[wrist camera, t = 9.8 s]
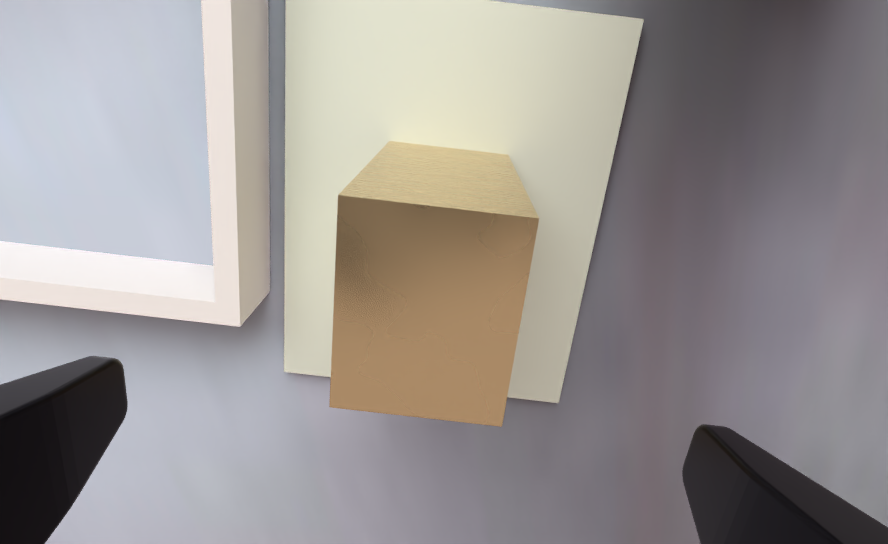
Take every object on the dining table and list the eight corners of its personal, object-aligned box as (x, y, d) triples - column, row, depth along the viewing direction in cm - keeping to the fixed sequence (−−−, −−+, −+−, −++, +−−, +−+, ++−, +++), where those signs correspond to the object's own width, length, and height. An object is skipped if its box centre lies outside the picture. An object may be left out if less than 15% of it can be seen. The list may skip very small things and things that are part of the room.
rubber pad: (639, 20, 17) (643, 18, 17) (556, 395, 22) (558, 403, 22) (290, -22, 17) (285, -25, 16) (287, 365, 22) (283, 371, 22)
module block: (508, 154, 18) (539, 218, 11) (487, 290, 20) (501, 426, 13) (389, 140, 18) (337, 194, 11) (379, 278, 20) (329, 406, 12)
